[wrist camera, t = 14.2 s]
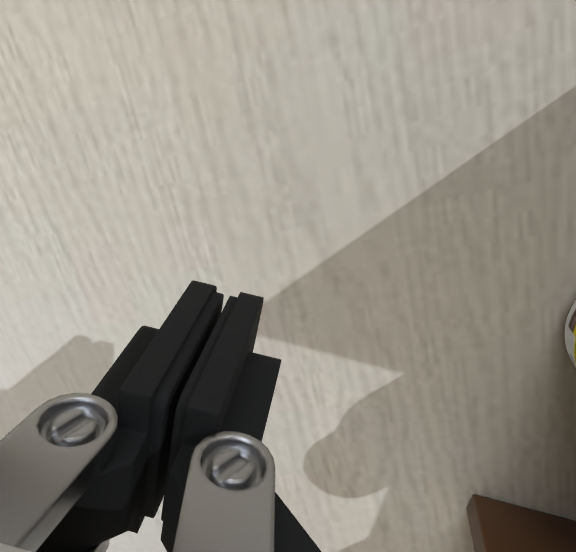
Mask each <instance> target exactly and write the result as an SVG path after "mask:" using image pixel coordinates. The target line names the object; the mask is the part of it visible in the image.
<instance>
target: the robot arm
mask: <svg viewBox="0 0 576 552" xmlns="http://www.w3.org/2000/svg"><path fill="white" fill-rule="evenodd" d="M216 289H217V288H216V286H214V285H210V284H206V283H202V282H198V281H192V282H191V283H190V284H189V286H188V287H187V289H186V290H185V292H184V293H183V295H182V296H181V298H180V299H179V301H178V302H177V304H176V305H175V307H174V308H173V310H172V311H171V313H170V314H169V316H168V317H167V319H166V320H165V322H164V323H163V325H162V326H161V328H160V329H156V328H152V327H148V326H142V327H141V328H140V329H139V330H138V331H137V333H136V334H135V335H134V337H133V338H132V340H131V341H130V342H129V344H128V345H127V346H126V348H125V349H124V350H123V352H122V353H121V354H120V356H119V357H118V358H117V360H116V361H115V363H114V364H113V365H112V367H111V368H110V369H109V371H108V372H107V373H106V375H105V376H104V377H103V379H102V380H101V381H100V383H99V384H98V386H97V387H96V388H95V390H94V391H93V392H92V394H83V393H73V394H67V395H61V396H58V397H56V398H53V399H50V400H48V401H47V402H45V403H44V404H42V405H41V406H39V407H38V408H37V409H35V410H34V411H33V412H32V413H31V414H30V415H29V416H28V417H26V418H25V419H24V420H23V421H22V422H21V423H20V424H19V425H17V426H16V427H15V428H14V429H13V430H12V431H11V432H9V433H8V434H7V435H6V436H5V437H4V438H3V439H2V440H0V552H106V550H107V548H108V546H109V541H110V539H111V538H113V537H115V536H117V535H120V534H122V533H124V532H126V531H131V532H135V533H138V530H139V528H140V526H141V524H142V522H143V519H144V517H145V516H147V517H151V518H154V517H155V515H156V513H157V511H158V508H159V506H160V504H161V501H162V499H163V497H164V501H163V509H162V516H161V520H162V521H163V527H162V534H161V541H162V543H163V545H164V547H165V549H166V550H167V552H321V551H320V549H319V548H318V547H317V545H316V544H315V543H314V541H313V540H312V539H311V538H310V536H309V535H308V534H307V532H306V531H305V530H304V529H303V527H302V526H301V525H300V523H299V522H298V521H297V519H296V518H295V517H294V516H293V514H292V513H291V512H290V510H289V509H288V508H287V506H286V505H285V504H284V503H283V501H282V500H281V499H280V497H279V496H278V495H277V494H276V492H275V464H274V459H273V456H272V455H271V453H270V451H269V449H268V448H267V447H266V446H265V445H264V444H263V443H262V438H263V434H264V430H265V426H266V422H267V418H268V414H269V410H270V405H271V401H272V397H273V393H274V389H275V385H276V381H277V377H278V373H279V368H280V364H281V360H280V359H276V358H272V357H268V356H264V355H260V354H256V353H253V349H254V344H255V339H256V334H257V329H258V324H259V320H260V315H261V310H262V305H263V297H259V296H255V295H251V294H247V293H243V292H240V294H239V296H238V298H237V297H233V296H230V297H229V299H228V301H227V303H226V305H225V307H224V309H223V311H222V305H223V298H224V295H223V294H221V293H217V292H216ZM221 311H222V313H221Z"/></svg>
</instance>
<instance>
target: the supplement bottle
mask: <svg viewBox="0 0 576 552" xmlns="http://www.w3.org/2000/svg"><path fill="white" fill-rule="evenodd" d="M565 344H566V348H567V351H568V354H569V356H570V359H571V360H572V362H573V364H574V366H575V368H576V300H575V302H574V304H573V305H572V307H571V309H570V311H569V314H568V316H567V320H566V325H565Z"/></svg>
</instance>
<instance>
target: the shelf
mask: <svg viewBox="0 0 576 552" xmlns="http://www.w3.org/2000/svg"><path fill="white" fill-rule="evenodd" d="M467 513H468V519H469V524H470V529H471V534H472V539H473V544H474V549H475V552H576V521H572V520H568V519H564V518H561V517H557V516H553V515H549V514H546V513H542V512H538V511H534V510H531V509H527V508H523V507H520V506H516V505H512V504H508V503H505V502H501V501H497V500H493V499H490V498H486V497H482V496H478V495H473V497H472V499H471V501H470V503H469V505H468V507H467Z"/></svg>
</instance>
